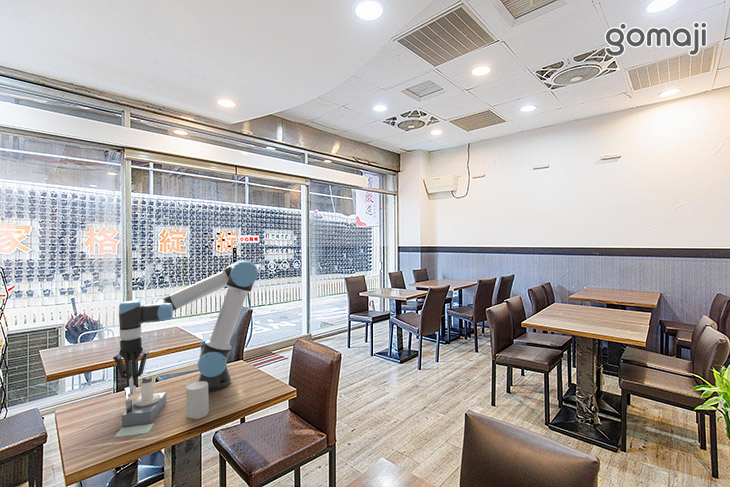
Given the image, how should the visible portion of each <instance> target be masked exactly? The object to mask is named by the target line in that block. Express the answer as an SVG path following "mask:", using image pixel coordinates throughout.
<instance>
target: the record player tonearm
mask: <svg viewBox="0 0 730 487" xmlns="http://www.w3.org/2000/svg"><path fill="white" fill-rule="evenodd" d="M124 396H125V398H126V401H125V411H126V412H131V411H132V404H133V400H132V399H131V395H130V390H129V386H127V387H125V388H124Z"/></svg>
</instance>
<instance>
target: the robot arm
mask: <svg viewBox="0 0 730 487" xmlns="http://www.w3.org/2000/svg"><path fill="white" fill-rule="evenodd" d="M258 271H259V270H258V267H257V265H256V264H255V263H254V262H252V261H251V260H248V259H239V260H237V261H235V262H233V263H232V264H230V265H229V266H226V267H224V268H222V271H221V272H218V273H216V274H214V275H211V276H208V277H207V278H204V279H202V280H200V281H198V282H195V283H194V284H191V285H189V286H187V287H184V288H183V289H180V290H177V291H176V292H173V293H171V294H170V295H167V296H165V297H161V298H159V299H157V300H156V301H155V302H154V303H152V304H141V301H140V300H127V301H123V302H121V303H120V304H118V306H119V308H118V320H119V348H120V349H119V352H118V354H115V355H114V356H113V358H112V359H113V361H115V364H116V366H117V369H118V371H119V372H118V373H119V375H120V377H121V379H126V386H127V387H129V390H130V396H131V395H134V394H135V393H136V392H137V385H138V384H139V378H140V377H141V376H142V375H143V373H144V370H145V366H146V362H147V358H148V357H149V354H150V352H149V351H145V350H144V348H143V347H142V345H143V343H142V340H143V339H142V324H143V323H145V324H146V323H152V322H164V321H170V320H171V319H173V318H174V317H173V315H174V311H176V310H178V309H181V308H183V307H184V306H187V305H189V304H191V303H193V302H195V301H198V300H200V299H202V298H203V297H206V296H209V295H211V294H213V293H214V292H217V291H220V290H221V289H224V288H227V292H226V294H225V296H224V299H223V302H222V305H221V308H220V311H219V314H218V316H217V319H216V322H215V324H214V328H213V330H212V333H211V336H210V338H205V339H202V340H201V341H200V346H199V347H200V355H199V359H198V361H197V368H198V371H199V373H200V374H199V377H198V381H206V382H208V392H213V391H217V390H222V389H224V388H227V386H229V385H230V384H231V382H232V377H231V375H230V373H229V370H228V358H229V355H230V353H231V350H232V345H231V344H230V342H231V340H232V337H233V334H234V331H235V328H236V325H237V322H238V319H239V316H240V315H241V314H240V313H241V311H242V308H243V305H244V301H245V300H246V296H247V294H249V293H250V292H252V289H253V286H254V284H255V282H256V281H257V279H258V275H259V272H258ZM139 357H141V360H140V362H139ZM123 360H124V362H123ZM198 381H197V382H198Z"/></svg>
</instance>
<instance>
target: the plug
mask: <svg viewBox="0 0 730 487" xmlns="http://www.w3.org/2000/svg"><path fill="white" fill-rule="evenodd" d="M140 393H141V394H140V395H141V397H139V396H138V397H139V398H138V397H137V398H138V399H137V398H136V399H135V400H134V401H133V403H134V405H135V406H137V407H144V406H149V405H152V404H155V403H157V402H158V401H159V400H160V399H161V396H160V395H159V394H153V393H154V380H153V378H152V376H148V377H144V378H142V379H141V382H140Z"/></svg>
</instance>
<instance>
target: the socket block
mask: <svg viewBox="0 0 730 487" xmlns="http://www.w3.org/2000/svg"><path fill="white" fill-rule="evenodd" d="M153 394H159V395H160V396H161V399H160V400H159V401H158V402H157V403H155V404H152V405H149V406H144V407H137V406H135V405H134V402H132V411H131V412H126V410H125V411H124V412H123V413H122V414H121V428H125V427H133V426H140V425H148V424H153V421H154V420H155V419H156V418H157V416H158V415H159V414H160V413H161V411H162V409H163V408H164V406H165V405H166V404H167V391H165V392H157V393H154V392H153ZM139 397H141V394H140V395H138V397H137V398H136V399H138V398H139Z"/></svg>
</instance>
